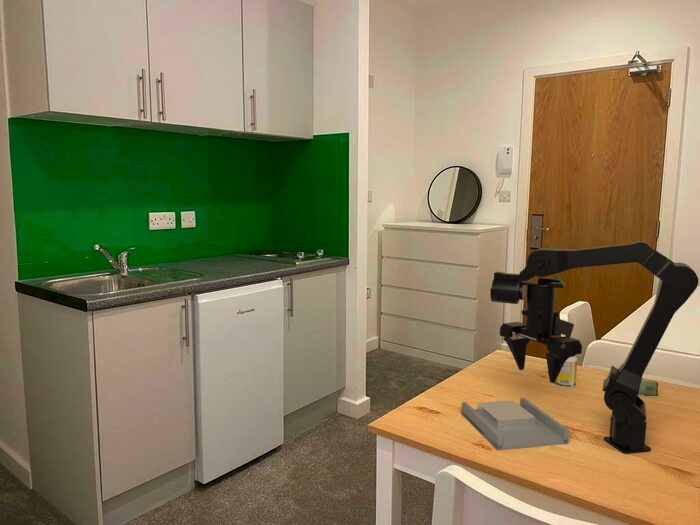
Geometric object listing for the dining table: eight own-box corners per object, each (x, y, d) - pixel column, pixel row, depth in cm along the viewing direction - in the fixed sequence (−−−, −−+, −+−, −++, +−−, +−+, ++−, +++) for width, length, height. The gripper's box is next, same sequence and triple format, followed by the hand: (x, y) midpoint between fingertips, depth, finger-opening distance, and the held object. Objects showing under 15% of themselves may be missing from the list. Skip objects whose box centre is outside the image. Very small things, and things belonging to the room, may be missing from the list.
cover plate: (535, 426, 118) (535, 417, 117) (497, 429, 116) (497, 420, 116) (512, 408, 127) (512, 400, 127) (477, 411, 126) (477, 402, 125)
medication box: (654, 395, 140) (655, 380, 140) (658, 398, 138) (659, 382, 138) (605, 391, 142) (606, 376, 142) (608, 393, 140) (609, 378, 140)
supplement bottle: (566, 381, 149) (569, 345, 148) (580, 388, 144) (582, 351, 143) (549, 383, 148) (551, 347, 147) (561, 390, 142) (564, 352, 141)
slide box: (568, 443, 112) (569, 430, 111) (497, 450, 109) (497, 436, 108) (523, 409, 129) (524, 397, 129) (461, 414, 126) (461, 402, 126)
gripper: (603, 311, 111) (598, 384, 113) (536, 296, 128) (532, 359, 130) (563, 316, 106) (559, 392, 108) (499, 299, 123) (496, 365, 125)
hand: (536, 376), depth 118 cm, fingers open, 9 cm apart
